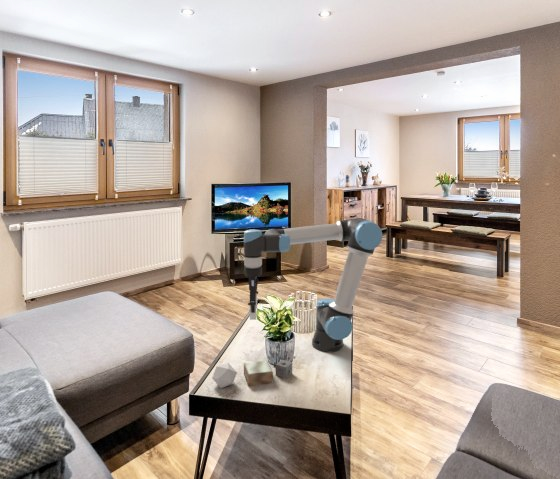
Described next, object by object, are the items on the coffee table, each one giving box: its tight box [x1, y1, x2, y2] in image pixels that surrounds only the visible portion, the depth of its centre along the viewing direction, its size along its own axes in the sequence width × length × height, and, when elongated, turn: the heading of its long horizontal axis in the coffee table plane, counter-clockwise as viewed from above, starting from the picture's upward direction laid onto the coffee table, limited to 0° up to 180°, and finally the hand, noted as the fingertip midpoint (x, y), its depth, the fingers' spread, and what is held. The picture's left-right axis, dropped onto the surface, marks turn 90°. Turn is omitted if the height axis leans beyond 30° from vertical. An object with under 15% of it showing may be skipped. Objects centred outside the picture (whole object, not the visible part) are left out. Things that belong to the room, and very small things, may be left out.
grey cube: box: [275, 359, 293, 380], centre depth 166 cm, size 5×5×5 cm
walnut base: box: [243, 360, 274, 387], centre depth 162 cm, size 10×10×5 cm
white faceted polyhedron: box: [211, 362, 238, 389], centre depth 157 cm, size 8×9×10 cm
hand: (253, 313), depth 173 cm, fingers open, 13 cm apart
